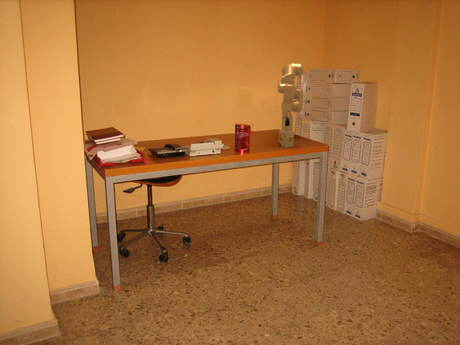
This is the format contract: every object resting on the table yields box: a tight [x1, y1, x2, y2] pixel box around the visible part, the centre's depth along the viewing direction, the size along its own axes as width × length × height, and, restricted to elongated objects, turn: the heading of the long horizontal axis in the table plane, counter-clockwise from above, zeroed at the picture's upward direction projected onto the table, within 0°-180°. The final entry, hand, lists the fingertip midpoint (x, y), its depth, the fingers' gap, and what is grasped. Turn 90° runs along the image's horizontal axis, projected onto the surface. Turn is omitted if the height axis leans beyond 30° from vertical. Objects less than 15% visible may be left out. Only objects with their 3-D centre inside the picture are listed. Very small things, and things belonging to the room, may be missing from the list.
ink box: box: [277, 130, 295, 149], centre depth 335 cm, size 9×9×12 cm
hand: (286, 125), depth 332 cm, fingers closed on sage block, 5 cm apart
